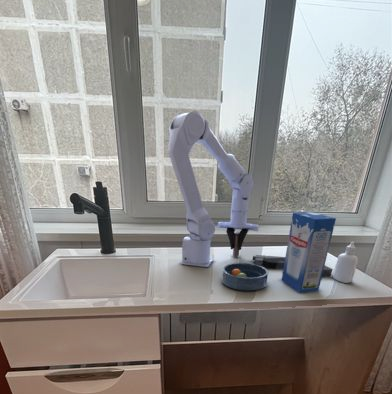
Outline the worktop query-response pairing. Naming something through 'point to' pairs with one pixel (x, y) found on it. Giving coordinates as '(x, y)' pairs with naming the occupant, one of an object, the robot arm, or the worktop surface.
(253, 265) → the bowl
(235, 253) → the stirring stick
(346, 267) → the eye dropper bottle
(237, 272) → the bead
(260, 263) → the pistol
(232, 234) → the robot arm
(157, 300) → the worktop surface
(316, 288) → the milk carton
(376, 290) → the worktop surface
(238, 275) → the bead
